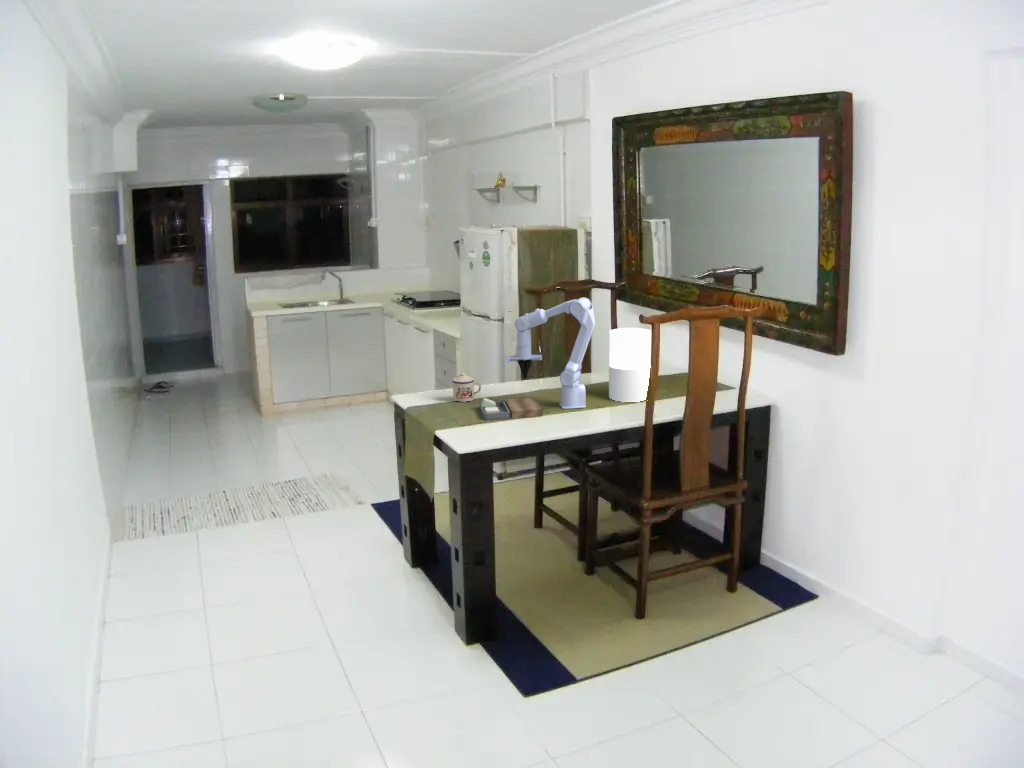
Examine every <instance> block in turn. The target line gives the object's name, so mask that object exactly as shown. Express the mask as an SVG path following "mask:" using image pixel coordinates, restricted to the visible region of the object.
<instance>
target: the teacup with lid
mask: <svg viewBox="0 0 1024 768" xmlns="http://www.w3.org/2000/svg"><path fill="white" fill-rule="evenodd" d="M474 385H478V386H479V387H478V390H477V391H475V389H474ZM452 389H453V390H452V394H453V396H452V397H453V401H454V400H455V401H460V402H459V403H462V402H463V403H467V402H466V401H471V402H473V401H474V400H475V395H477V394H479V393H480V391H481V390H482V384H480V382H477V381H475V379H474V377H472V376H469V375H466V373H465V372H461V373H460V374H459V375H457V376H456V377H453V378H452ZM472 400H473V401H472ZM455 401H454V402H455Z"/></svg>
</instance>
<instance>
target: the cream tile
mask: <svg viewBox="0 0 1024 768" xmlns="http://www.w3.org/2000/svg"><path fill="white" fill-rule="evenodd" d="M485 412H486V413H499V409H498V408H497V407H489V408H485Z"/></svg>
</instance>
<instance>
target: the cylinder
mask: <svg viewBox="0 0 1024 768" xmlns="http://www.w3.org/2000/svg"><path fill="white" fill-rule="evenodd" d="M608 335H609V337H608V398H610V399H609V400H611V399H612V401H613V400H615V401H614V402H617V401H621V402H620V403H624V402H637V403H641V402H640V401H644V400H646V397H647V391H648V386H649V378H650V368H651V369H652V365H651V363H652V362H651V361H652V357H651V355H652V330H651V329H648V328H641V327H619V328H614V329H610V330H609V332H608ZM644 402H645V401H644Z"/></svg>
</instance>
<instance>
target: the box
mask: <svg viewBox="0 0 1024 768" xmlns="http://www.w3.org/2000/svg"><path fill="white" fill-rule="evenodd" d="M493 401H494V400H493ZM481 402H482V401H479V402H478V404H479V407H478V408H479V410H480V413H481V412H482V413H481V415H482V417H483V419H484V421H492V420H493V421H495V419H497V420H509V419H510V420H511V419H512V418H511V416H510V411H509V409H508V407H507V406H506V404H505V400H495V401H494V402H495V403H496V406H495V407H497V408H498V409H499V413H486V412H485V408H486V407H483V406H482V404H481Z"/></svg>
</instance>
